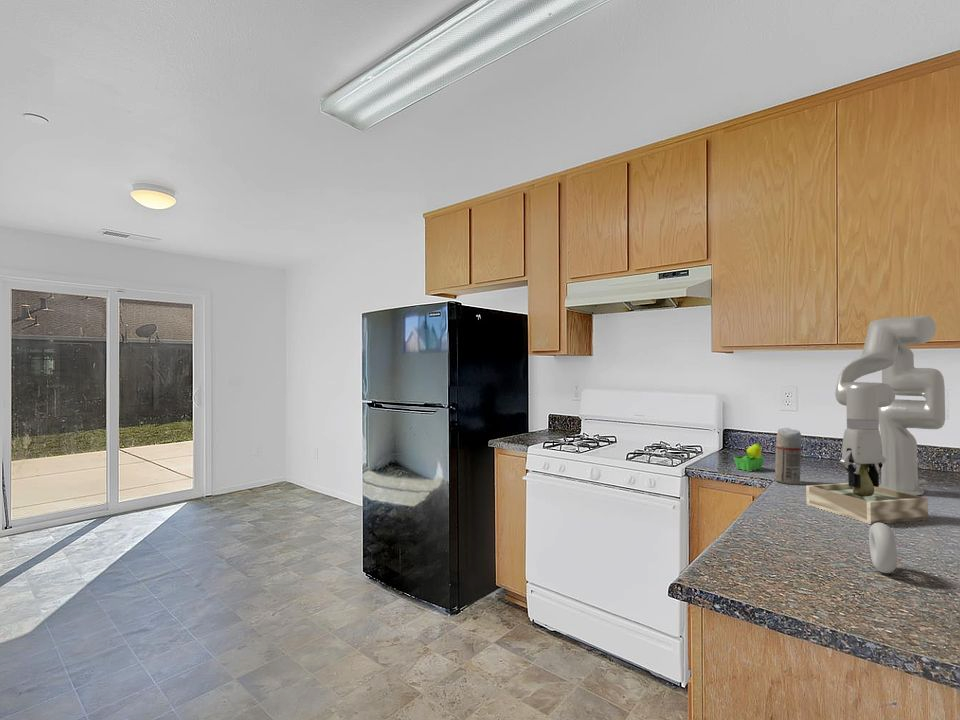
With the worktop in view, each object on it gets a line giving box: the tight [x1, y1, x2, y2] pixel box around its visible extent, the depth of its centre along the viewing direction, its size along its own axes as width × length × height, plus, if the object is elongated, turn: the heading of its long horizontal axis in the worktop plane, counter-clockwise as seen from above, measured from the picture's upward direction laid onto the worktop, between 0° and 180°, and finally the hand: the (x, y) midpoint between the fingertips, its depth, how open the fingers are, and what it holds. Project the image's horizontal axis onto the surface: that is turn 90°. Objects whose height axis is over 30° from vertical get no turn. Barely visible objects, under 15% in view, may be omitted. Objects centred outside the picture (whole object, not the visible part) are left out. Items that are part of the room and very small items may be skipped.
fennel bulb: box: [853, 464, 874, 497], centre depth 145 cm, size 6×5×12 cm
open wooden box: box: [805, 482, 929, 525], centre depth 144 cm, size 20×20×6 cm
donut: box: [868, 523, 898, 574], centre depth 102 cm, size 10×4×10 cm, turn 151°
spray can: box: [774, 427, 802, 485], centre depth 183 cm, size 8×8×20 cm
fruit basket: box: [733, 443, 766, 472], centre depth 206 cm, size 11×9×11 cm
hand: (863, 485), depth 144 cm, fingers closed on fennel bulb, 5 cm apart
